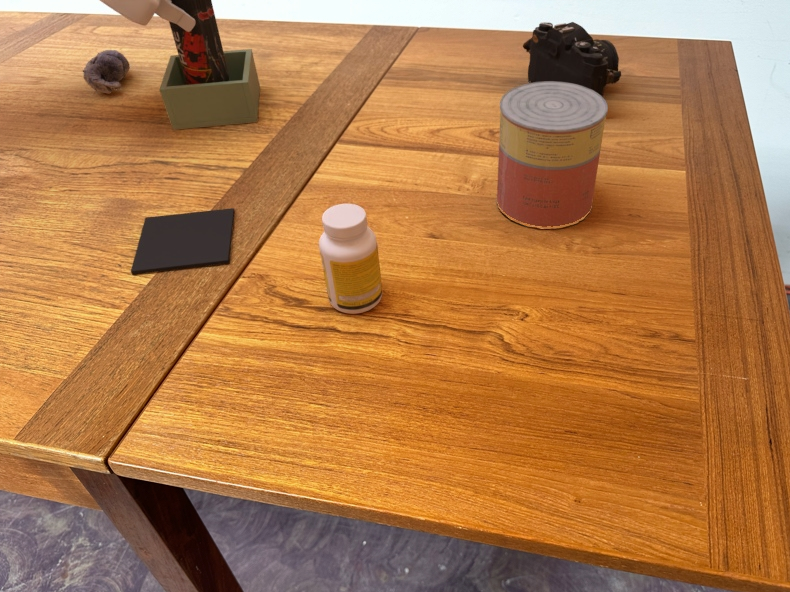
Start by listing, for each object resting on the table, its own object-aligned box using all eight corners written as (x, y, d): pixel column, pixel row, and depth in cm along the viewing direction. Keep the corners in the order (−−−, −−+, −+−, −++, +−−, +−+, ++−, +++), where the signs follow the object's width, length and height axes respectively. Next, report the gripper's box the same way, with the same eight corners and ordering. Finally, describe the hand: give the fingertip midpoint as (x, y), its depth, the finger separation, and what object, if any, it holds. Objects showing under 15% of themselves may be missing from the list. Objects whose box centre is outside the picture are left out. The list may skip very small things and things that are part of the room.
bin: (172, 130, 92) (159, 89, 88) (182, 94, 100) (170, 55, 96) (257, 122, 94) (247, 81, 89) (260, 87, 102) (251, 48, 98)
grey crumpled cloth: (112, 105, 101) (125, 79, 108) (125, 75, 98) (137, 51, 106) (75, 86, 98) (90, 61, 105) (87, 55, 96) (102, 31, 103)
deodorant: (238, 76, 95) (211, -41, 85) (211, 92, 91) (180, -28, 81) (205, 68, 97) (175, -46, 86) (177, 84, 93) (142, -34, 83)
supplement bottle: (394, 297, 66) (386, 215, 60) (351, 323, 64) (337, 241, 57) (360, 273, 69) (348, 192, 62) (318, 297, 67) (301, 215, 60)
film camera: (648, 97, 97) (662, 26, 90) (600, 127, 91) (611, 53, 84) (551, 64, 106) (557, -3, 99) (500, 89, 100) (503, 20, 93)
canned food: (608, 193, 79) (625, 96, 71) (564, 241, 73) (577, 140, 64) (525, 167, 84) (532, 73, 75) (477, 209, 77) (479, 111, 69)
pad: (132, 275, 70) (130, 271, 69) (146, 220, 77) (145, 217, 76) (229, 263, 71) (228, 260, 70) (234, 211, 78) (233, 207, 77)
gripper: (96, -65, 89) (191, 8, 97) (58, -17, 74) (174, 64, 82) (119, -106, 86) (215, -27, 94) (85, -64, 72) (202, 24, 80)
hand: (196, 16), depth 88 cm, fingers closed on deodorant, 6 cm apart
